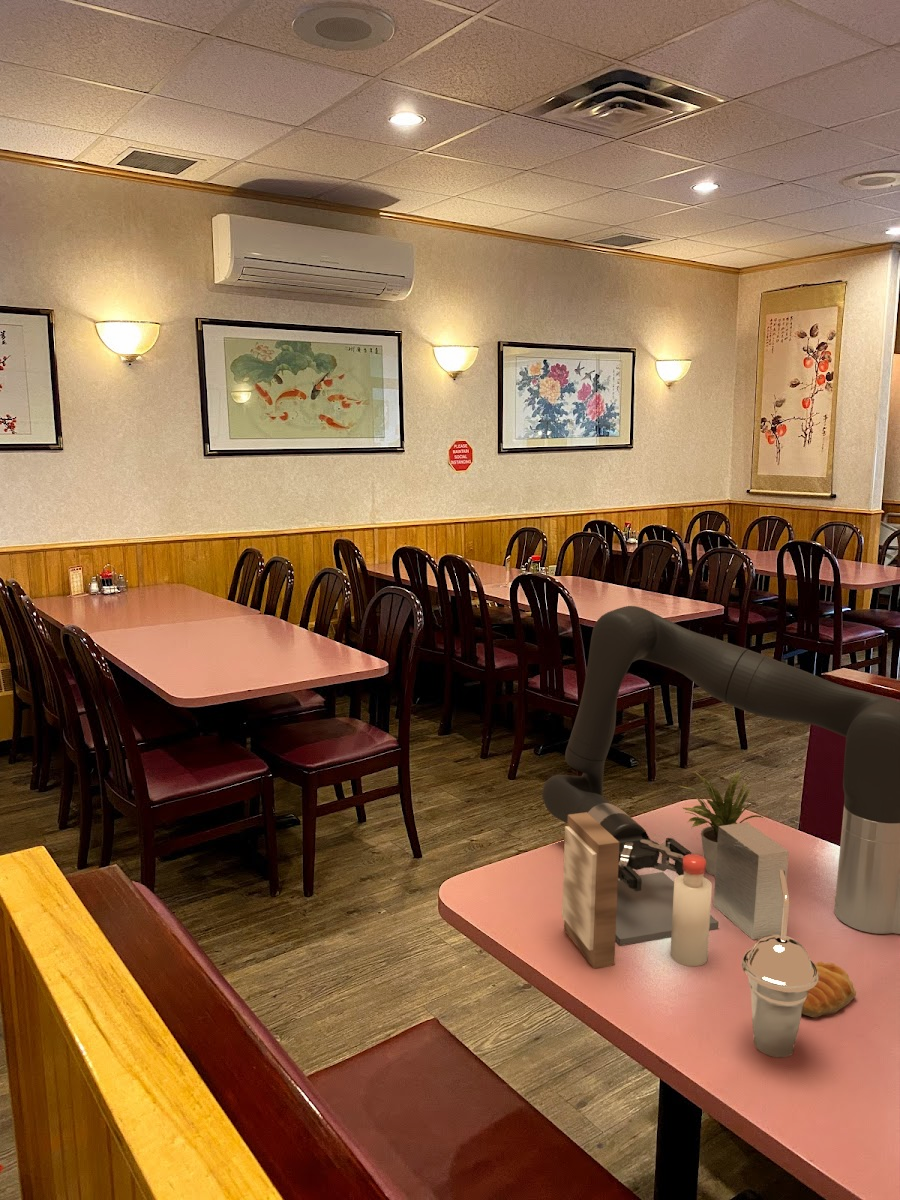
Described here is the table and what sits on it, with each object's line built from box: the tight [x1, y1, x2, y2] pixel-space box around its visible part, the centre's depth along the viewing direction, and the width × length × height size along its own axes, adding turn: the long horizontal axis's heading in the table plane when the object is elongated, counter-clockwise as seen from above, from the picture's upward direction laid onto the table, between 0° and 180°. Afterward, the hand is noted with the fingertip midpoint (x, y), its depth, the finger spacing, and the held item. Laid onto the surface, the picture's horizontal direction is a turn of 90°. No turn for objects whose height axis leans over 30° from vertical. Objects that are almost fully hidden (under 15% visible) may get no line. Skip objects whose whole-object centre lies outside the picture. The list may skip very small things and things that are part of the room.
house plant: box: [678, 770, 764, 877], centre depth 152 cm, size 14×14×16 cm
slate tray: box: [615, 871, 719, 946], centre depth 139 cm, size 16×16×1 cm
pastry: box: [802, 961, 857, 1018], centre depth 117 cm, size 9×7×4 cm
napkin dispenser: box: [713, 821, 790, 940], centre depth 135 cm, size 10×5×13 cm, turn 17°
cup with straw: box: [741, 870, 818, 1058], centre depth 107 cm, size 8×9×20 cm
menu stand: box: [561, 812, 619, 969], centre depth 127 cm, size 10×4×18 cm, turn 17°
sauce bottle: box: [669, 853, 713, 968], centre depth 126 cm, size 5×5×14 cm
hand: (666, 881), depth 132 cm, fingers open, 8 cm apart
